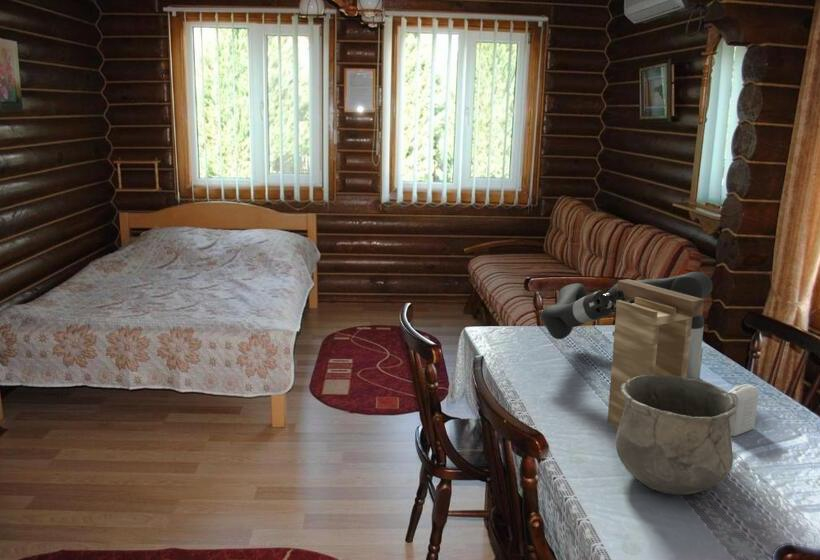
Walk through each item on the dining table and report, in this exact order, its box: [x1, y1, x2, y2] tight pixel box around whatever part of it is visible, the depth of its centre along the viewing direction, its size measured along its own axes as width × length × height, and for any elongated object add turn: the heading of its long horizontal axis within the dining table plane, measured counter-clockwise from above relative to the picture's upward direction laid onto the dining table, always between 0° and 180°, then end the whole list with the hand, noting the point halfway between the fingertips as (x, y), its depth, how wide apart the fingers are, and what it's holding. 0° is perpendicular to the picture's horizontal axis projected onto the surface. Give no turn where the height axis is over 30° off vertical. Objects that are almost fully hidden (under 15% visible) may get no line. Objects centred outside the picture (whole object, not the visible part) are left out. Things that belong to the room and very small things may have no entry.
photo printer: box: [727, 383, 760, 437], centre depth 177 cm, size 10×4×12 cm, turn 123°
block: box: [616, 278, 705, 318], centre depth 176 cm, size 4×24×4 cm, turn 30°
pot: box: [615, 375, 737, 496], centre depth 150 cm, size 25×24×21 cm
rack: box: [607, 297, 692, 429], centre depth 177 cm, size 14×12×34 cm
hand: (633, 291), depth 183 cm, fingers open, 8 cm apart
